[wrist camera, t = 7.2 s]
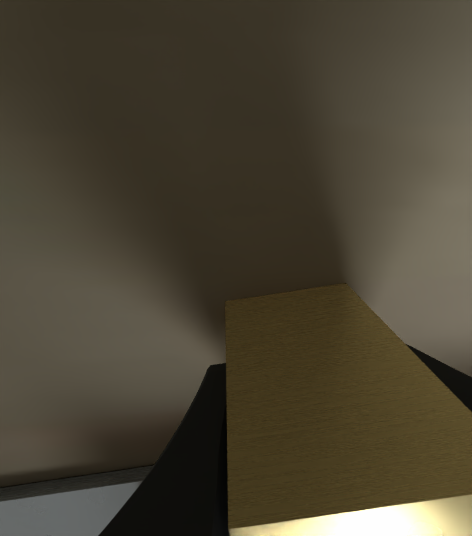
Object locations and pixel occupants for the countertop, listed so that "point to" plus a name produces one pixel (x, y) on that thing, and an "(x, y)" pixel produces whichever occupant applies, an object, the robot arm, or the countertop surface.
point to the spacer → (338, 424)
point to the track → (67, 504)
